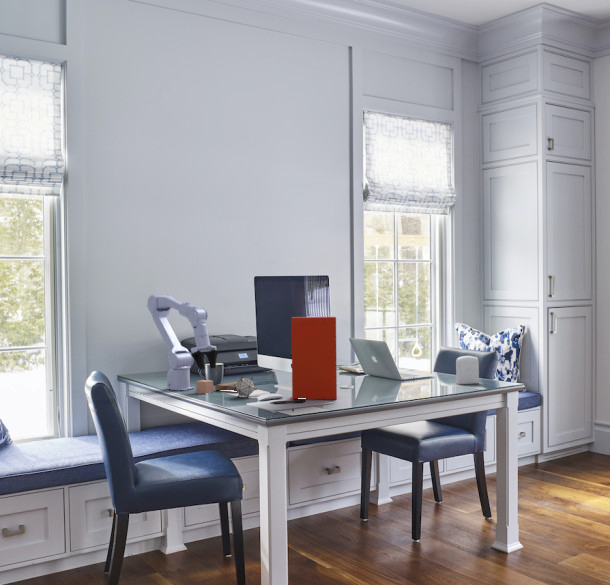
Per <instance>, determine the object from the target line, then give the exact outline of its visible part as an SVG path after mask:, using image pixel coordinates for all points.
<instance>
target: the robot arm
mask: <svg viewBox="0 0 610 585" xmlns="http://www.w3.org/2000/svg"><path fill="white" fill-rule="evenodd" d="M146 307H147V309H148V310H149V312H150V314H151V317H152V320H153V322H154V324H155V326H156V328H157V330H158V332H159V334H160V336H161V338H162V340H163V342H164V343H165V345H166V347H167V349H168V352H167V355H166V359H167V361H168V365H169V367H170V369H168V371H167V374H166V388H165V389H166V390H169V389H170V391H180V390H182V392H183V390H184V391H187V390H192V388H193V389H195V387H194V386H191V384H190V382H191V380H190V378H191V376H190V375H191V372H190V369H191V368H192V366H193V364H194V361H195V363H196V364H197V367H198V369H199V371H200V370H201V371H202V370H204V369H205V360H204V358H205V356H206V358H207V360H208V364H209V367H210V369H216V367H217V358H218V354H219V350H218V349H217V345H212V344H211V342H210V336H209V331H208V330H209V329H208V327H207V322H206V321H207V320H208V316H209V315H208V312H207V310H206V309H204V308H198V306H196V305H192V304H191V302H189V301H185V302H180V301H179V300H177V299H175V298H174V297H173V295H170V294H165V295H164V294H162V295H161V294H160V295H159V294H158V295H154V294H151V295H149V297H148V298H147V304H146ZM171 309H174V310H175V311H178V314H179V315H180V316H182V317H185V318H187V319H188V322H189V323H190V325H191V327H192V328H193V329H192V330H193V336H194V339H195V340H194V341H195V345H196V347H191V348H190V351H191V352H190V351H189V350H188V348H186V347H184V346H182V344H181V343H180V340H179V339H178V337H177V335H176V333H175V332H174V329H173V328H172V326H171V324H170V322H169V320H168V318H167V317H168V316H169V314H170V312H171ZM205 352H206V353H205Z"/></svg>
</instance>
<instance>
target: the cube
mask: <svg viewBox="0 0 610 585" xmlns="http://www.w3.org/2000/svg"><path fill="white" fill-rule="evenodd" d="M195 387H196V388H195V391H196V392H195V393H196V394H200V393H208V394H210V393H209V392H213V393H214V380H209V379H202V380H196V381H195Z"/></svg>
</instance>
